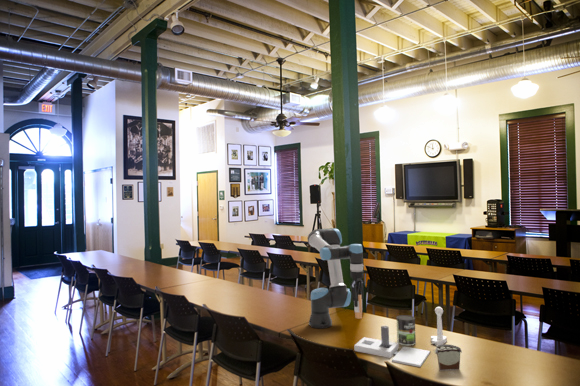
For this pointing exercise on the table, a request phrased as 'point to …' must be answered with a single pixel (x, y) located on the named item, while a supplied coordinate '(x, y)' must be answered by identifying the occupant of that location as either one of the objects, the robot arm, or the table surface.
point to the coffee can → (406, 330)
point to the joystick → (439, 329)
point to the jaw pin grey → (385, 336)
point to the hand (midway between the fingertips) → (358, 311)
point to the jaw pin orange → (359, 315)
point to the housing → (375, 347)
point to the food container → (448, 357)
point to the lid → (411, 356)
